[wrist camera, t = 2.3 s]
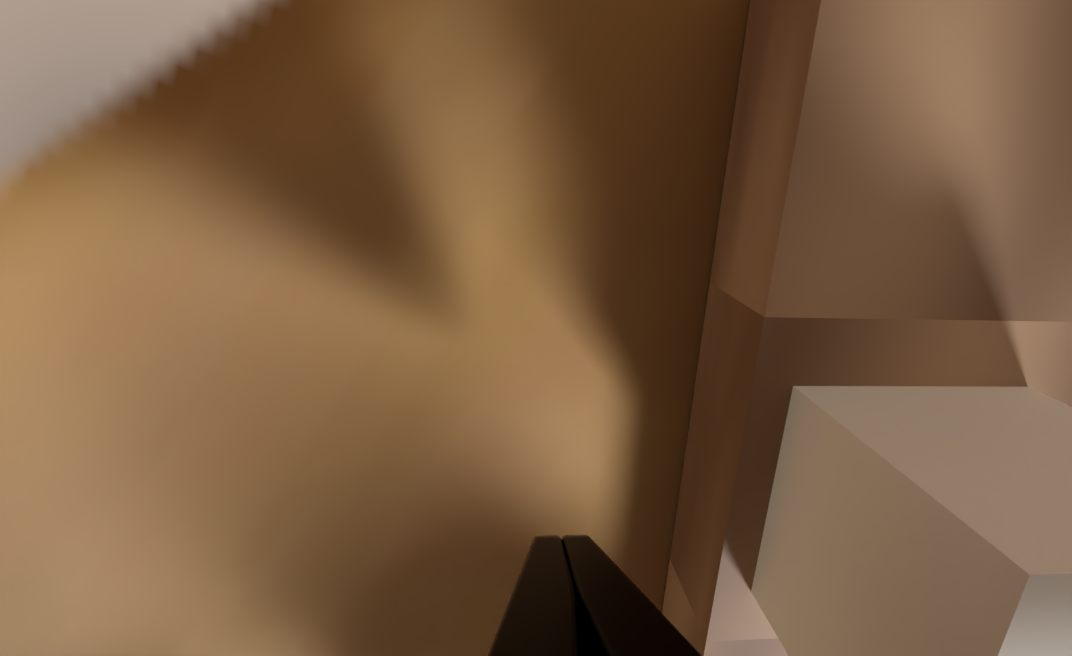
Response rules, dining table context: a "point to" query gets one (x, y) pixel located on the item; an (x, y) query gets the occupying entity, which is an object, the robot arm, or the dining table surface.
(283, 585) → the dining table surface
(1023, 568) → the block
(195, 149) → the dining table surface
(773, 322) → the trap board
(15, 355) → the dining table surface
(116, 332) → the dining table surface
